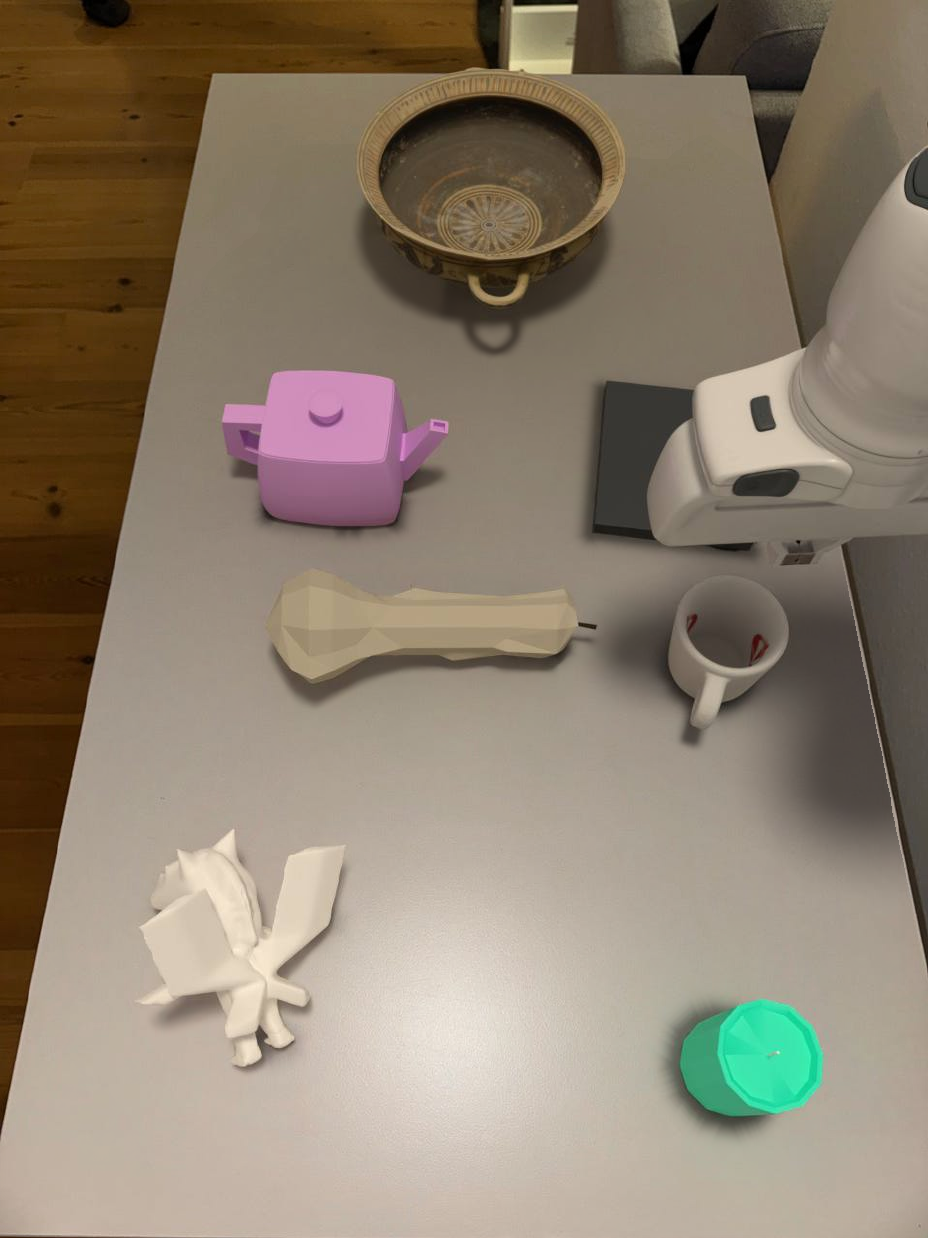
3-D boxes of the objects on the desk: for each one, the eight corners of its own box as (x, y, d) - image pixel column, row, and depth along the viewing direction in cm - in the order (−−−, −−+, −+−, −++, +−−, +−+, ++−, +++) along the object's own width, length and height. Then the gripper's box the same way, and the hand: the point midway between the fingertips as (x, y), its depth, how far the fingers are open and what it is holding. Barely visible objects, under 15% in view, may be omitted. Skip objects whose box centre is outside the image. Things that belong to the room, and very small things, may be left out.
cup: (739, 763, 76) (769, 725, 69) (636, 730, 77) (655, 689, 70) (768, 639, 81) (799, 592, 74) (670, 610, 82) (691, 560, 75)
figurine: (301, 1002, 75) (249, 816, 76) (396, 1006, 67) (337, 797, 68) (108, 1101, 65) (52, 884, 66) (193, 1120, 57) (127, 872, 58)
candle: (785, 1048, 67) (849, 1032, 57) (749, 1136, 65) (808, 1136, 54) (702, 998, 69) (749, 974, 58) (663, 1083, 66) (705, 1074, 56)
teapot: (452, 433, 89) (452, 354, 80) (443, 537, 85) (443, 465, 75) (247, 422, 90) (224, 341, 80) (227, 524, 85) (200, 451, 76)
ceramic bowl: (363, 139, 106) (355, 47, 97) (593, 133, 107) (606, 42, 98) (365, 367, 92) (356, 286, 84) (628, 359, 93) (647, 278, 84)
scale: (759, 407, 91) (769, 385, 88) (760, 555, 84) (770, 536, 82) (604, 390, 92) (609, 367, 89) (592, 536, 85) (597, 516, 82)
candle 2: (272, 585, 81) (583, 582, 83) (272, 692, 80) (589, 686, 82) (259, 558, 73) (606, 555, 74) (257, 677, 71) (613, 671, 73)
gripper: (1044, 366, 55) (936, 507, 67) (667, 382, 54) (628, 521, 67) (1082, 463, 52) (962, 591, 65) (685, 481, 52) (641, 606, 64)
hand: (790, 555), depth 66 cm, fingers closed
